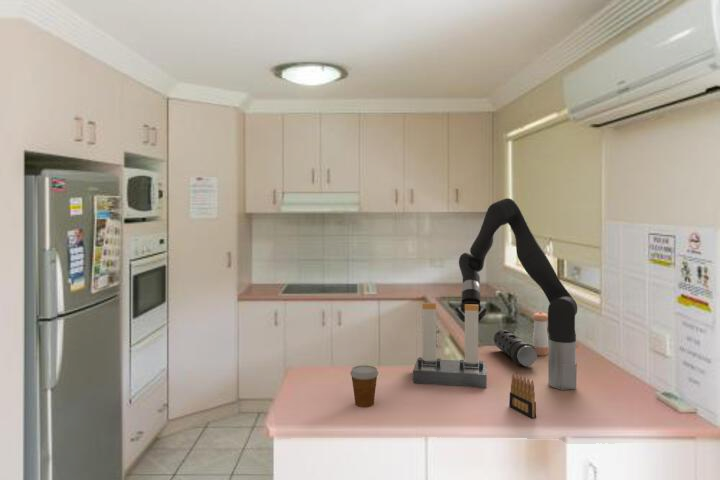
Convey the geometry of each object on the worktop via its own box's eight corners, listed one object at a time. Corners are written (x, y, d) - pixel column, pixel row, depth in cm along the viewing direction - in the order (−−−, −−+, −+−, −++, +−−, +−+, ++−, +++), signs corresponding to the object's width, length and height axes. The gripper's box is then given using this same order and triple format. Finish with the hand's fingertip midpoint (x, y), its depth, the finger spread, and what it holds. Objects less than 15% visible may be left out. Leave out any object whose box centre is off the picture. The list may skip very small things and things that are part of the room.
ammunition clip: (536, 418, 162) (536, 380, 161) (531, 419, 161) (532, 381, 160) (513, 406, 172) (513, 370, 171) (509, 407, 171) (509, 371, 170)
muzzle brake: (512, 350, 238) (513, 328, 237) (538, 369, 210) (538, 344, 209) (492, 351, 237) (493, 329, 237) (515, 370, 209) (516, 345, 209)
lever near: (464, 365, 199) (464, 304, 197) (478, 366, 198) (478, 304, 196) (464, 367, 197) (464, 305, 195) (478, 368, 195) (478, 305, 194)
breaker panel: (417, 370, 210) (417, 352, 209) (485, 374, 204) (485, 356, 204) (412, 383, 194) (412, 364, 194) (486, 388, 188) (486, 368, 188)
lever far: (422, 363, 202) (422, 302, 201) (436, 363, 201) (436, 303, 200) (422, 364, 200) (422, 303, 199) (435, 365, 199) (435, 304, 197)
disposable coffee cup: (349, 399, 179) (349, 365, 178) (377, 398, 179) (376, 364, 179) (351, 409, 169) (350, 374, 169) (380, 408, 170) (379, 373, 169)
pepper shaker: (528, 352, 235) (528, 310, 233) (539, 350, 238) (540, 309, 237) (540, 356, 228) (541, 313, 227) (552, 354, 231) (552, 312, 230)
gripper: (487, 299, 212) (487, 336, 201) (454, 298, 215) (453, 334, 204) (487, 288, 206) (488, 325, 195) (454, 287, 209) (452, 324, 198)
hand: (470, 329), depth 199 cm, fingers closed
